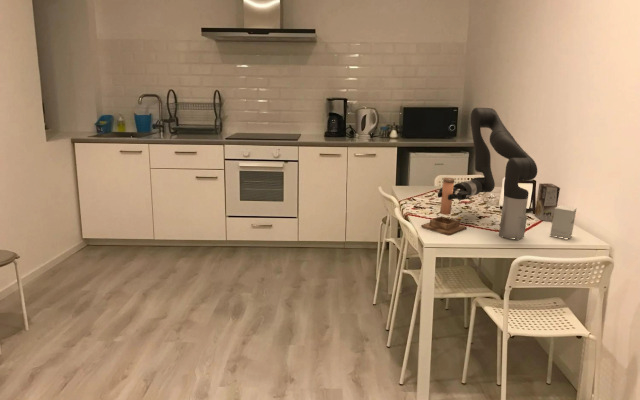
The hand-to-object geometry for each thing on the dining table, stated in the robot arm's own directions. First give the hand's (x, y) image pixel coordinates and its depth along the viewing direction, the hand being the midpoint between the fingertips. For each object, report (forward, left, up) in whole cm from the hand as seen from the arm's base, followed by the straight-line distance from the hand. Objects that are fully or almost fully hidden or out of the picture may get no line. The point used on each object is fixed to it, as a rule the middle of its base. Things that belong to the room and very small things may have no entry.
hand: (443, 196), depth 220 cm
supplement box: (-38, -34, -15) cm, 53 cm away
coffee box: (-22, -56, -15) cm, 62 cm away
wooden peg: (0, -3, -8) cm, 8 cm away
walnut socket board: (0, -3, -15) cm, 15 cm away
